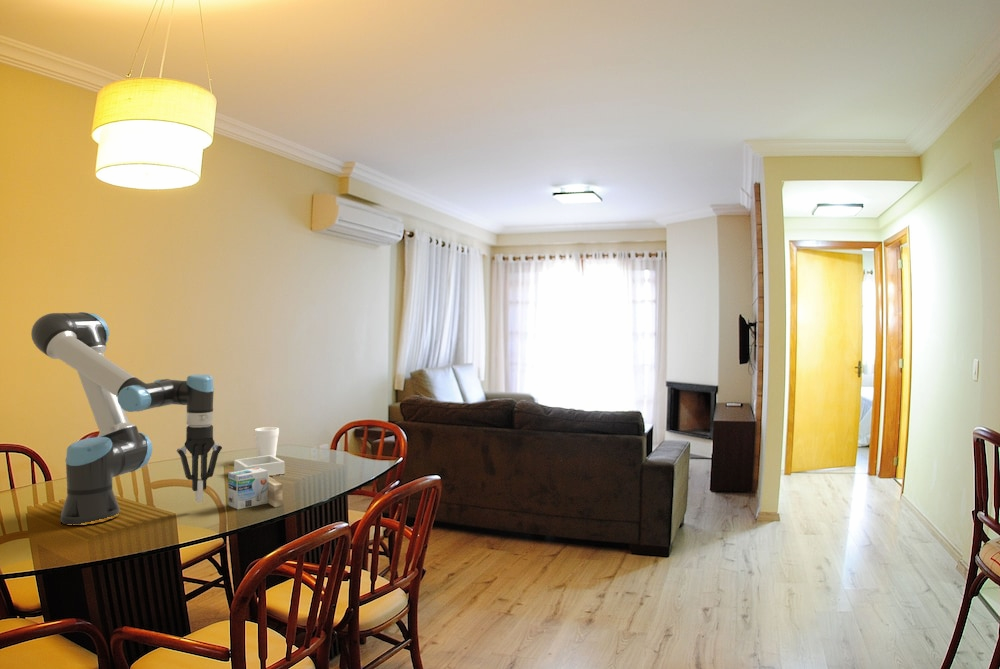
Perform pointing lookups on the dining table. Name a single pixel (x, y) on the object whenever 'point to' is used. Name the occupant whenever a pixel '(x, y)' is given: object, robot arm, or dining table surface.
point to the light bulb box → (248, 488)
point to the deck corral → (261, 464)
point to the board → (274, 492)
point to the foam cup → (266, 440)
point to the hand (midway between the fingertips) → (199, 500)
